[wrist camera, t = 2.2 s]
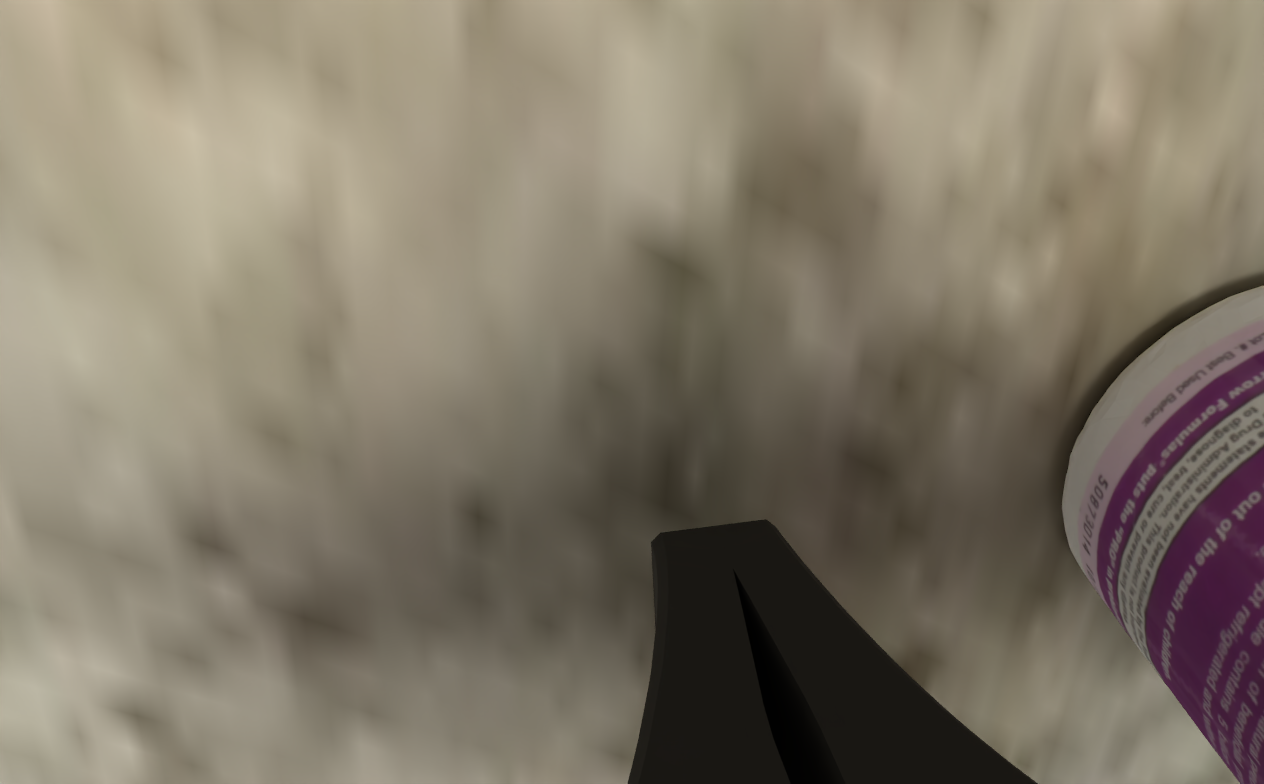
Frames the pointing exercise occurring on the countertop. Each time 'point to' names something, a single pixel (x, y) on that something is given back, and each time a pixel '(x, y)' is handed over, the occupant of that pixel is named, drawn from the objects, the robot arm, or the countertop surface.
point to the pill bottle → (1185, 518)
